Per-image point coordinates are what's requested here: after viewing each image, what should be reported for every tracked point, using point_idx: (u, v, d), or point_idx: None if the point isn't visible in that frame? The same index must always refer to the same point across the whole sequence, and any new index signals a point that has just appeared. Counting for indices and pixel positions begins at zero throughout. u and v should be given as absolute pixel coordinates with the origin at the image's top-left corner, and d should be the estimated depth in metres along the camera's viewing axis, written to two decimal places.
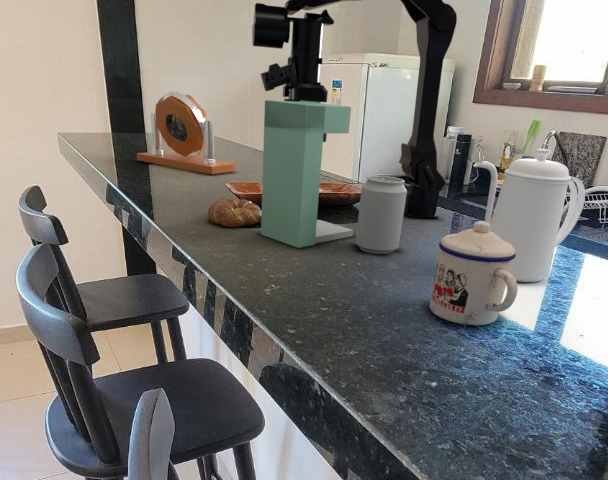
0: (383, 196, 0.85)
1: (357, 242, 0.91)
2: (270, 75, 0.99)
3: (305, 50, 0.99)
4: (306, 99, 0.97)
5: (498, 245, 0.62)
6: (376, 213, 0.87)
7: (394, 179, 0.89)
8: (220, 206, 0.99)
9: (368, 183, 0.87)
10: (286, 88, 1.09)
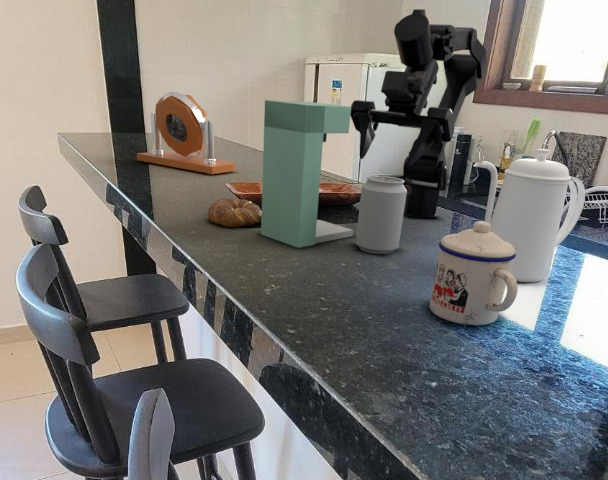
0: (383, 196, 0.85)
1: (357, 242, 0.91)
2: (422, 80, 0.88)
3: (429, 85, 0.95)
4: (449, 126, 0.90)
5: (498, 245, 0.62)
6: (376, 213, 0.87)
7: (394, 179, 0.89)
8: (220, 206, 0.99)
9: (368, 183, 0.87)
10: (370, 104, 0.95)
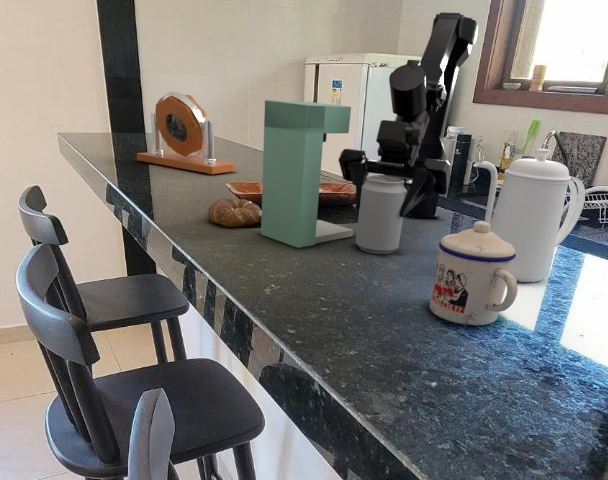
0: (383, 196, 0.85)
1: (357, 242, 0.91)
2: (420, 131, 0.84)
3: None
4: (446, 179, 0.87)
5: (498, 245, 0.62)
6: (376, 213, 0.87)
7: (394, 179, 0.89)
8: (220, 206, 0.99)
9: (368, 183, 0.87)
10: (362, 153, 0.90)
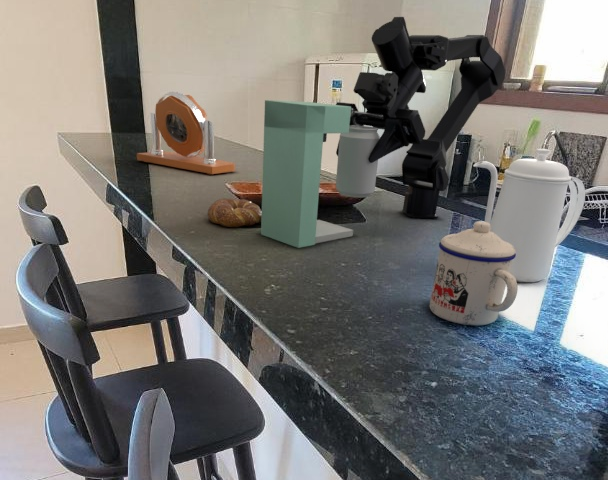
0: (351, 141, 0.94)
1: None
2: (390, 81, 0.90)
3: (408, 90, 0.97)
4: (415, 127, 0.92)
5: (498, 245, 0.62)
6: (346, 157, 0.95)
7: (373, 129, 0.97)
8: (220, 206, 0.99)
9: None
10: (350, 106, 0.99)
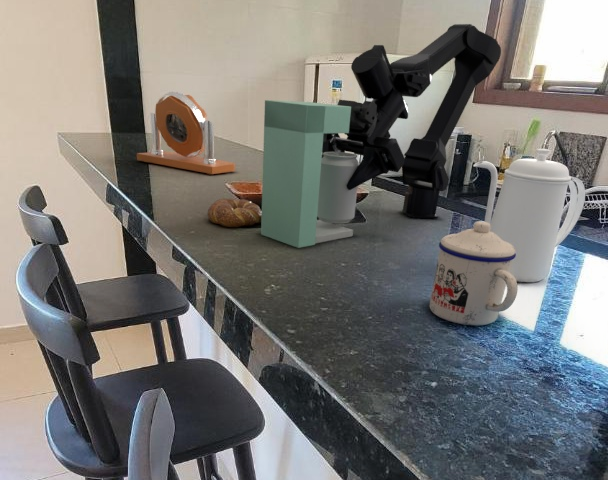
0: (329, 168, 0.94)
1: None
2: (368, 109, 0.90)
3: (388, 117, 0.97)
4: (393, 156, 0.91)
5: (498, 245, 0.62)
6: (324, 184, 0.95)
7: (353, 155, 0.97)
8: (220, 206, 0.99)
9: (323, 157, 0.96)
10: None
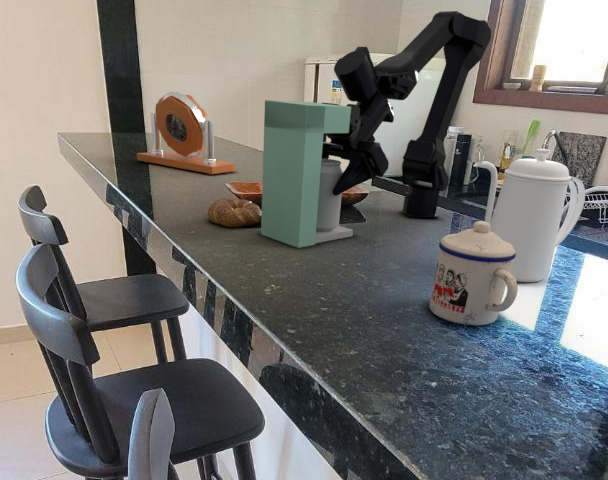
0: None
1: None
2: None
3: (373, 121, 0.94)
4: (376, 160, 0.89)
5: (498, 245, 0.62)
6: None
7: (337, 162, 0.94)
8: (220, 206, 0.99)
9: None
10: None
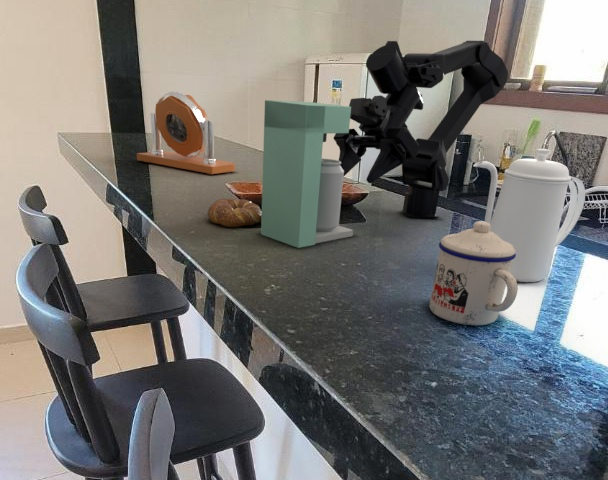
0: None
1: None
2: (377, 103, 0.93)
3: (402, 109, 0.99)
4: (405, 144, 0.93)
5: (498, 245, 0.62)
6: None
7: (337, 162, 0.94)
8: (220, 206, 0.99)
9: None
10: (349, 131, 1.03)
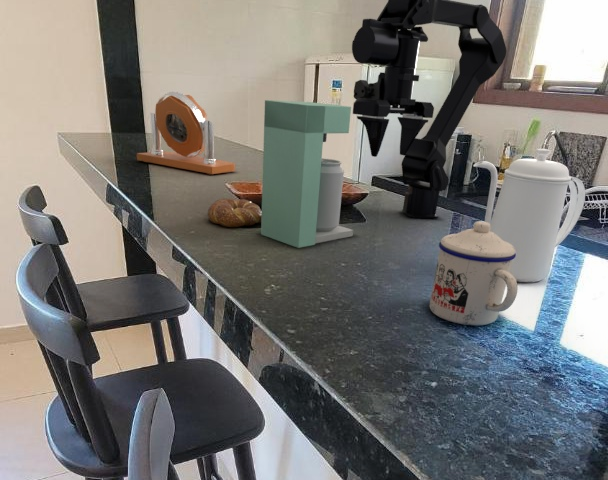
0: None
1: None
2: (354, 91, 1.04)
3: (388, 66, 0.98)
4: (359, 113, 0.98)
5: (498, 245, 0.62)
6: None
7: (337, 162, 0.94)
8: (220, 206, 0.99)
9: None
10: None
